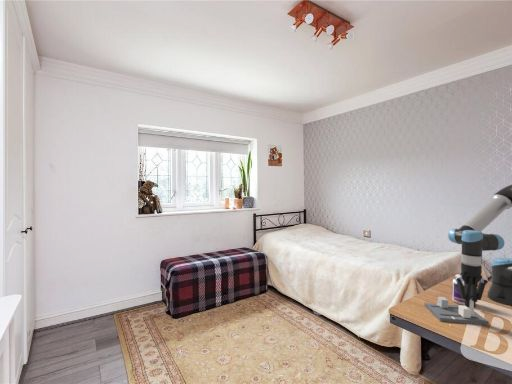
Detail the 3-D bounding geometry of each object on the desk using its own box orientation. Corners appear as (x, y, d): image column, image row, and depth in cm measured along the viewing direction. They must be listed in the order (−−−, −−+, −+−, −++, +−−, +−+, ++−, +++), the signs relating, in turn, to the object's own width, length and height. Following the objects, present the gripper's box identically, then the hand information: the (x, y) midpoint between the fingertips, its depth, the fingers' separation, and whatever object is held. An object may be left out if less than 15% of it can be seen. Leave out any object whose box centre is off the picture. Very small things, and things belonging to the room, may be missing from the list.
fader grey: (443, 304, 137) (444, 297, 136) (448, 308, 133) (448, 300, 133) (437, 304, 137) (437, 296, 137) (441, 307, 133) (441, 299, 133)
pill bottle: (474, 306, 139) (475, 279, 139) (457, 305, 141) (457, 278, 140) (465, 300, 147) (466, 274, 147) (449, 298, 148) (449, 273, 148)
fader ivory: (465, 313, 127) (465, 305, 127) (470, 318, 123) (470, 309, 123) (458, 313, 127) (458, 305, 127) (463, 317, 123) (463, 308, 123)
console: (467, 308, 136) (467, 305, 136) (489, 325, 120) (489, 321, 120) (424, 305, 140) (424, 302, 140) (440, 321, 124) (440, 317, 124)
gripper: (481, 262, 127) (480, 311, 127) (451, 260, 129) (450, 308, 129) (492, 267, 119) (491, 319, 120) (460, 265, 121) (459, 316, 122)
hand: (469, 313), depth 125 cm, fingers closed
